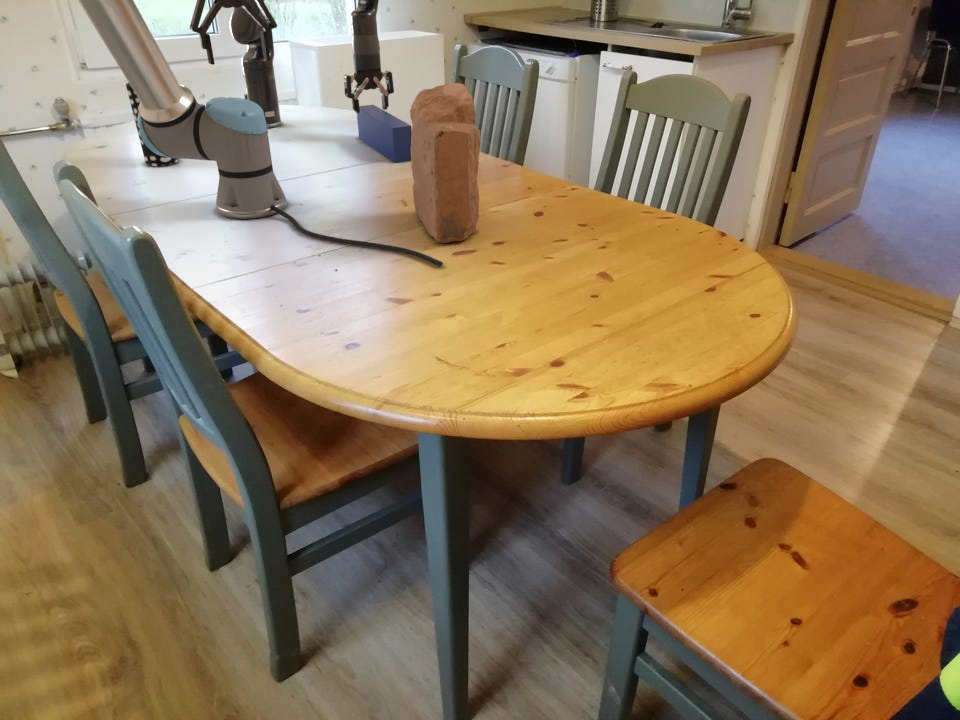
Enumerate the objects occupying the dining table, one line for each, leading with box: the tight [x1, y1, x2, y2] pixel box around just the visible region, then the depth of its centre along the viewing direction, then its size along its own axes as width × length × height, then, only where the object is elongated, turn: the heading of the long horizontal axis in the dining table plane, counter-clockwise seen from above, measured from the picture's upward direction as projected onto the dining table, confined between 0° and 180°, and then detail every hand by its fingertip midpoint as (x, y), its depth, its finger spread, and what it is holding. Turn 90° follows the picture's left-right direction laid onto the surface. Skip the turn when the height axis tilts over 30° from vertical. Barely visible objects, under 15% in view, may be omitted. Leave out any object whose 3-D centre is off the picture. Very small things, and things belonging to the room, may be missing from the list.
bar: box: [356, 104, 412, 163], centre depth 197 cm, size 28×5×9 cm, turn 29°
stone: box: [409, 82, 482, 244], centre depth 143 cm, size 22×11×28 cm, turn 18°
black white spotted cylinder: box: [125, 82, 179, 167], centre depth 181 cm, size 8×8×20 cm
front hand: (239, 61), depth 170 cm, fingers open, 13 cm apart
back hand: (371, 110), depth 202 cm, fingers open, 8 cm apart
